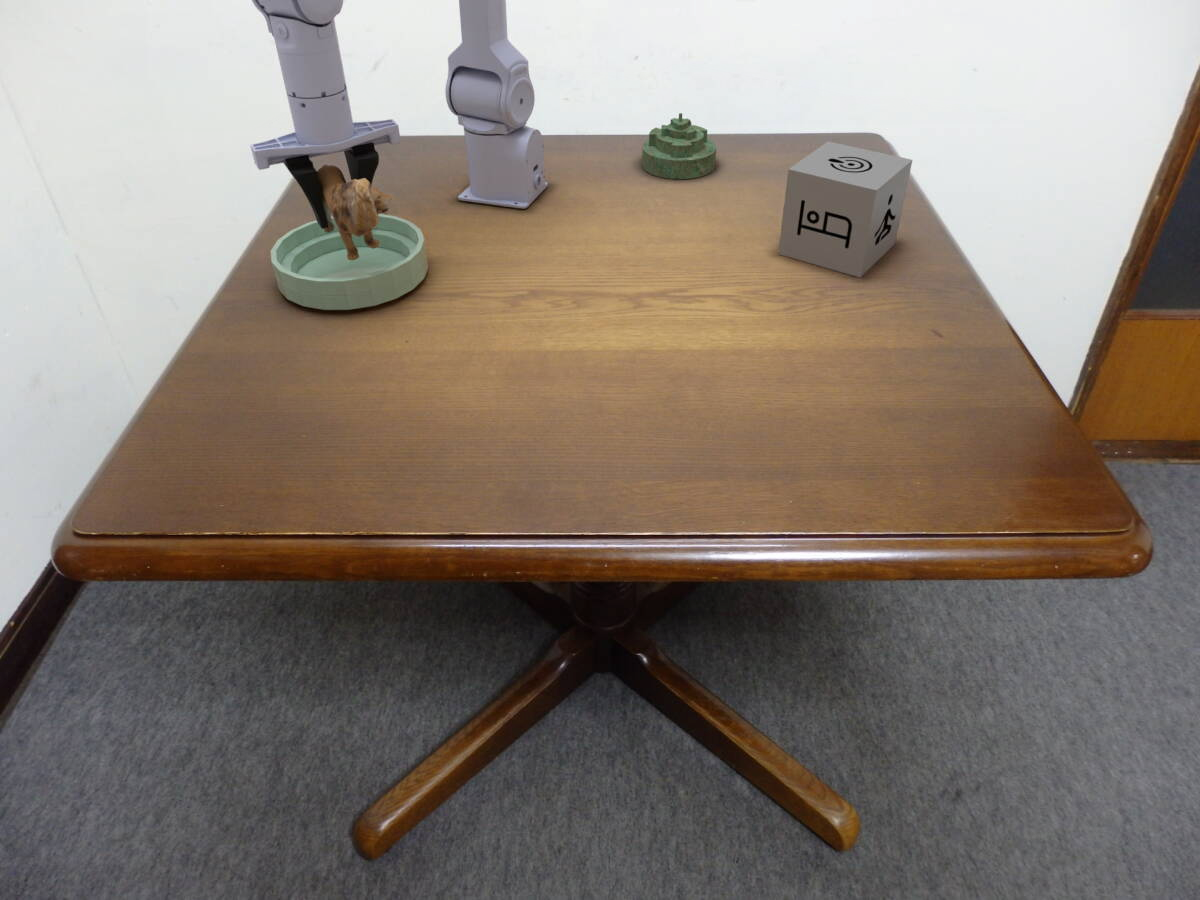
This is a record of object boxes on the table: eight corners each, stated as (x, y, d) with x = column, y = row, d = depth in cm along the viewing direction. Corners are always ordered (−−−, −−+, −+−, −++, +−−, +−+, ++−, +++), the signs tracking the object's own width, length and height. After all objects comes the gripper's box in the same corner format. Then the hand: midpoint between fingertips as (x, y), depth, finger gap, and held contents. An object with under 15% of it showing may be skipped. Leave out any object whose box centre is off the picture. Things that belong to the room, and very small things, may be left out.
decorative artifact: (641, 179, 122) (716, 179, 121) (642, 126, 117) (720, 127, 117) (642, 151, 130) (712, 151, 129) (643, 101, 125) (716, 101, 125)
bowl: (452, 255, 105) (448, 223, 103) (383, 325, 93) (376, 290, 91) (330, 237, 109) (323, 205, 107) (249, 301, 97) (239, 267, 95)
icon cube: (778, 253, 104) (788, 169, 98) (816, 222, 111) (828, 141, 104) (860, 277, 100) (876, 190, 94) (895, 243, 106) (912, 159, 100)
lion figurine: (411, 255, 94) (392, 179, 87) (366, 278, 92) (344, 201, 85) (340, 198, 102) (317, 123, 95) (297, 217, 100) (271, 142, 93)
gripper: (376, 67, 94) (396, 193, 102) (231, 90, 89) (265, 220, 97) (398, 85, 89) (417, 216, 97) (246, 111, 84) (281, 246, 92)
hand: (343, 220), depth 97 cm, fingers closed on lion figurine, 4 cm apart
